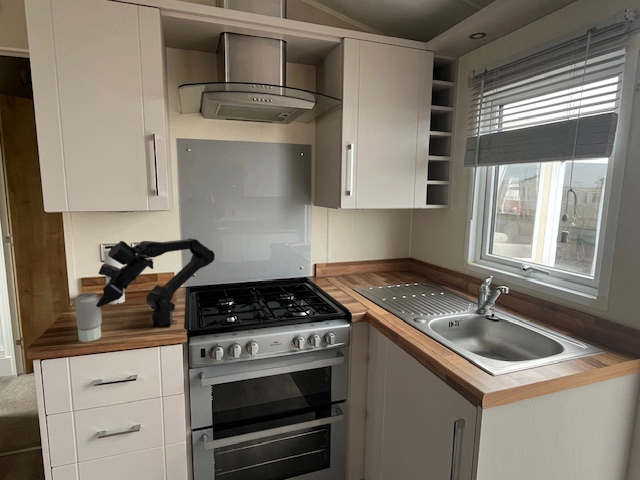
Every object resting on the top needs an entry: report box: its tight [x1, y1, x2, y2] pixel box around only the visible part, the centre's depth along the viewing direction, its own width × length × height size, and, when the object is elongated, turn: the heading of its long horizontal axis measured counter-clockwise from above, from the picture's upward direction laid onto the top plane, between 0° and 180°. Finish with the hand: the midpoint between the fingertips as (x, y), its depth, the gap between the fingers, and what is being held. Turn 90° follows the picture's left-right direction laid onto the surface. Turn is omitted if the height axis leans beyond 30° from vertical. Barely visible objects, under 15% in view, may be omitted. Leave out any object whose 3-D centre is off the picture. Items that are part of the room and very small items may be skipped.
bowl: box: [77, 325, 102, 343], centre depth 130 cm, size 7×7×4 cm
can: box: [74, 292, 103, 330], centre depth 129 cm, size 8×8×12 cm
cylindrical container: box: [103, 247, 126, 305], centre depth 169 cm, size 7×7×25 cm
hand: (99, 302), depth 130 cm, fingers open, 9 cm apart
